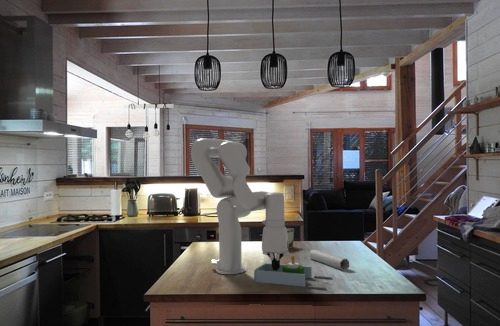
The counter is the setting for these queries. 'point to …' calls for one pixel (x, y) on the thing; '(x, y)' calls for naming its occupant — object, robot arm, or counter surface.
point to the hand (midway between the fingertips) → (275, 269)
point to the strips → (319, 287)
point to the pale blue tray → (281, 275)
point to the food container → (290, 236)
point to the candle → (293, 267)
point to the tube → (329, 259)
